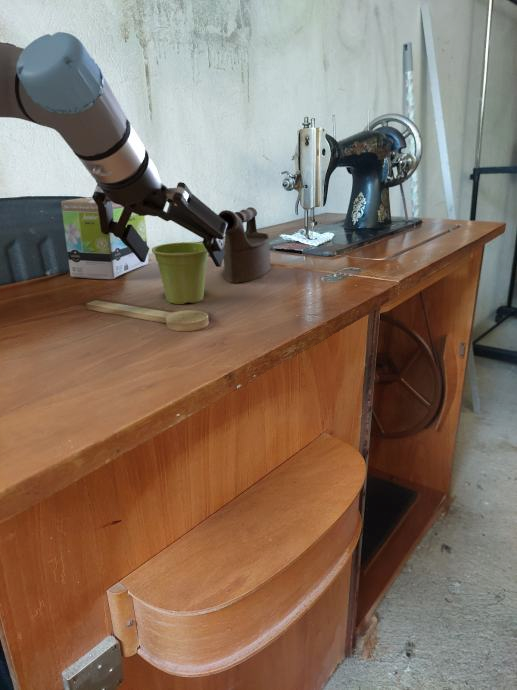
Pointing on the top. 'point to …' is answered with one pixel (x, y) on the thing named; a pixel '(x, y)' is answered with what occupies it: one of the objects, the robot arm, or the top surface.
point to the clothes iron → (244, 247)
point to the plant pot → (182, 270)
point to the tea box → (97, 241)
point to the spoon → (155, 315)
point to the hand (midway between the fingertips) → (182, 257)
